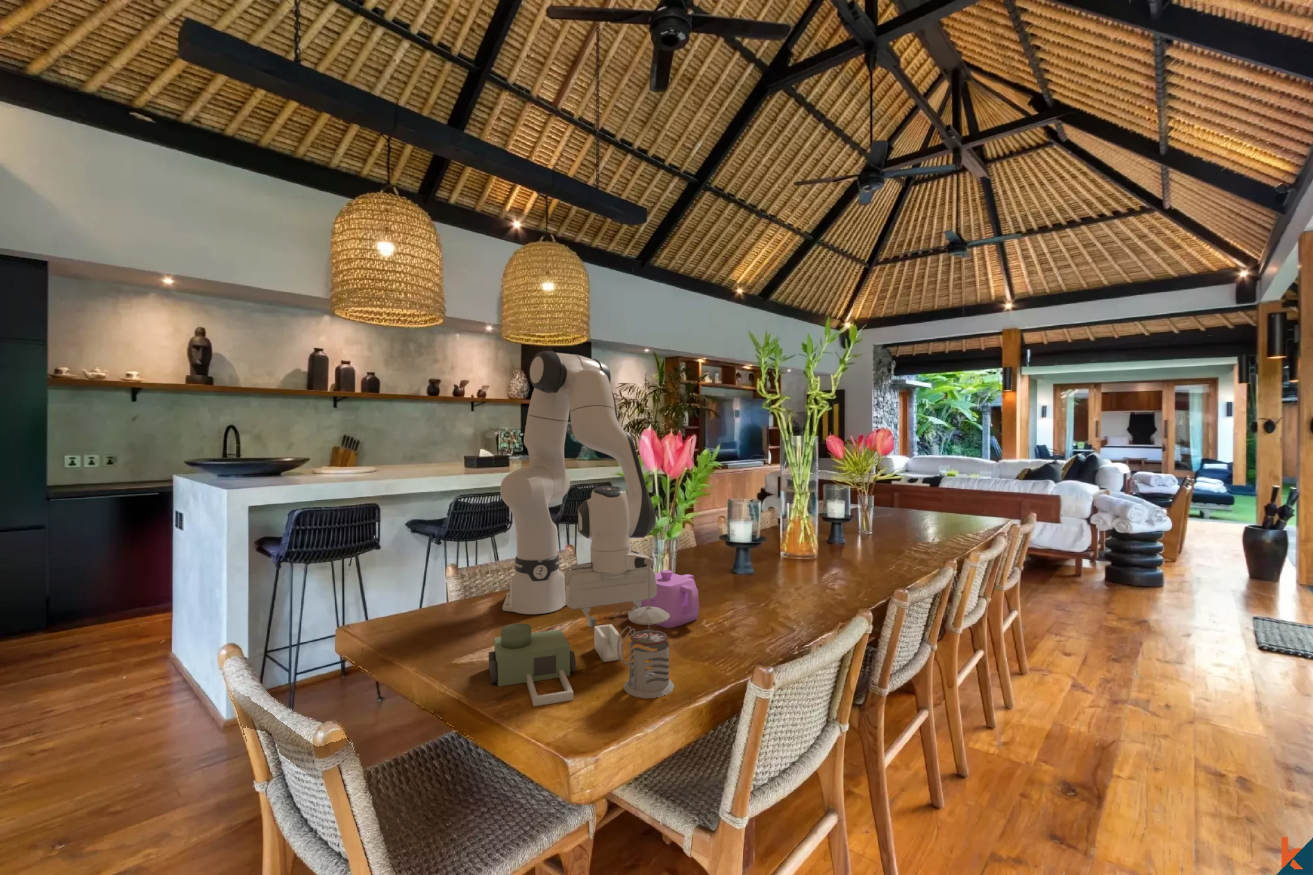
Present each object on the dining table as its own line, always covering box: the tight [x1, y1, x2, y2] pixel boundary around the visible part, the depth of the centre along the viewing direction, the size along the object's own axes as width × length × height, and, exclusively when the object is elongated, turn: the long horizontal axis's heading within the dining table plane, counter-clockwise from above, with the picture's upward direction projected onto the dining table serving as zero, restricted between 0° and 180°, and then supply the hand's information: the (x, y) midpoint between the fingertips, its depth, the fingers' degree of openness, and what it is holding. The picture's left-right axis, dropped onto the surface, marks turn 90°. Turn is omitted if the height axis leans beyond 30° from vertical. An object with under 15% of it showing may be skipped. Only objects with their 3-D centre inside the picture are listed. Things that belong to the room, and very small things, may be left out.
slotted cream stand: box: [593, 623, 622, 663], centre depth 126 cm, size 8×4×5 cm, turn 20°
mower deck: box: [488, 623, 577, 707], centre depth 112 cm, size 20×16×9 cm
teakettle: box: [640, 569, 700, 629], centre depth 150 cm, size 17×17×12 cm
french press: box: [617, 557, 675, 699], centre depth 110 cm, size 10×12×25 cm
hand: (612, 622), depth 126 cm, fingers open, 8 cm apart
